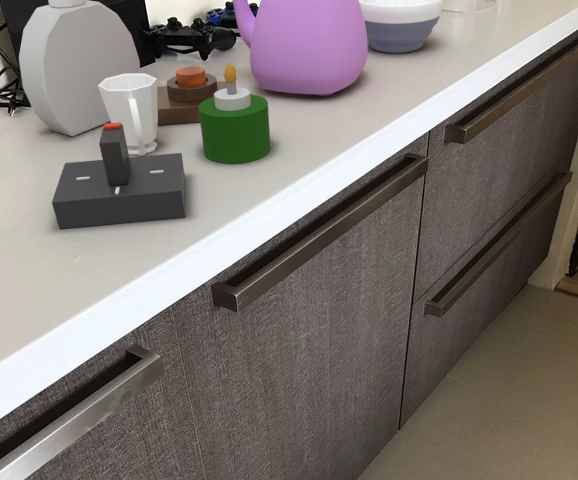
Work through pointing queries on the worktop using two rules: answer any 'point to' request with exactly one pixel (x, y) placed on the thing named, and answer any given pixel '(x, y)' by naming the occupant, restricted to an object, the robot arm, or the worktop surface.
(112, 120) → the cup
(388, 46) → the bowl
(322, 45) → the teapot
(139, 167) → the dial panel
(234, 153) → the candle
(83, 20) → the soap bottle
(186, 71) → the power button
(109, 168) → the block
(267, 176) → the worktop surface
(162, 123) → the switch block
